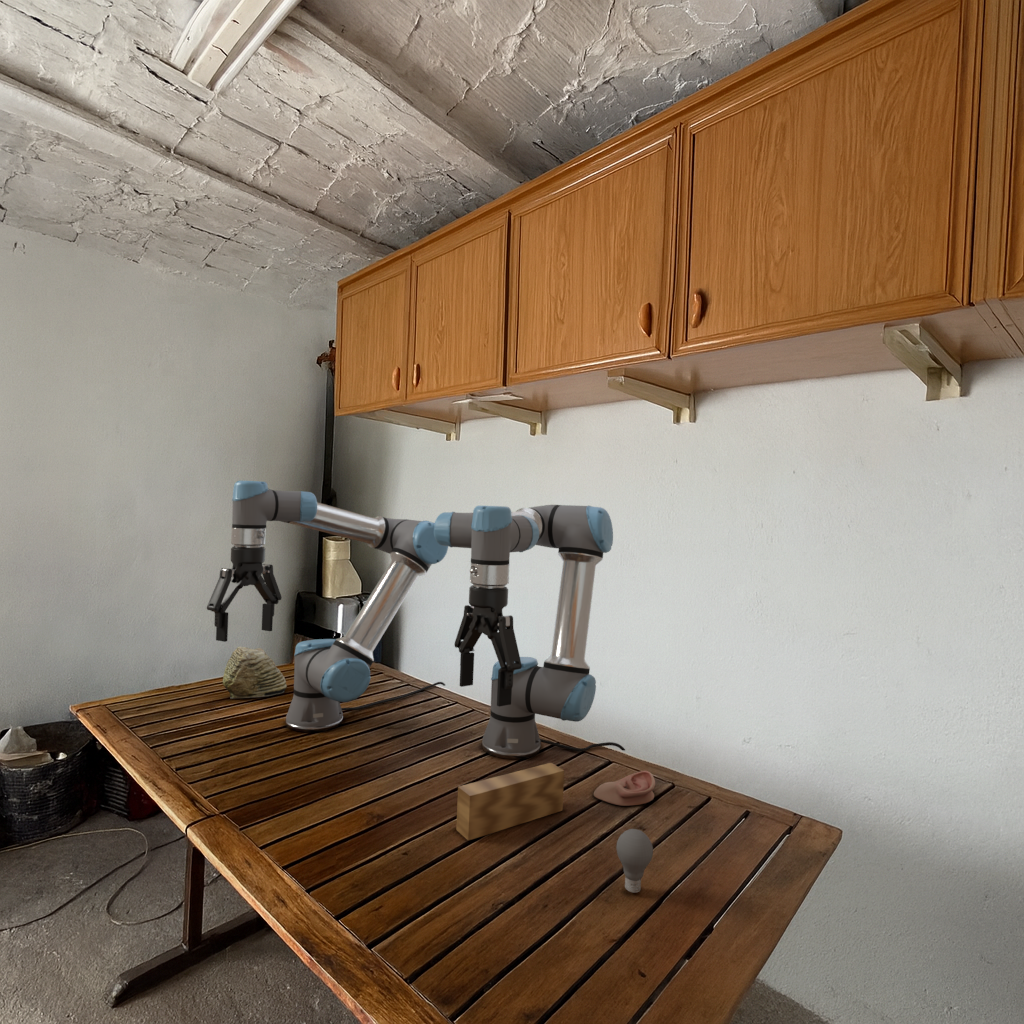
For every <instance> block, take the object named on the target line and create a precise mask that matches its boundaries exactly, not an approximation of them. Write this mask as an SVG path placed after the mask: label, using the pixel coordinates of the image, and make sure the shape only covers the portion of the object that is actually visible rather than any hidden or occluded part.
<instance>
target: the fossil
mask: <svg viewBox="0 0 1024 1024" xmlns="http://www.w3.org/2000/svg"><path fill="white" fill-rule="evenodd" d="M222 676H223V677H222V685H223V687H224V688H225V690H226V691H228V693H229V698H230V699H250V698H264V697H271V696H275V695H281V694H284V693H285V691H286V689H287V687H288V686H287V680H286V678H285V676H284V674H283V673H282V672H281V669H279V668H278V667H277V665H276V663H275V662H274V660H273V659H272V658H271V657H270V656H269V655H268V654H267V653H266V652H265V650H264V649H263V648H260V647H258V648H251V647H247V646H246V647H245V646H238V647H237V648H236V649H235V650H233V651H232V653H231V656H230V657H229V659H228V660H227V663H226V666H225V668H224V671H223V675H222Z"/></svg>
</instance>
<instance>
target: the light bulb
mask: <svg viewBox="0 0 1024 1024" xmlns="http://www.w3.org/2000/svg"><path fill="white" fill-rule="evenodd" d="M615 849H616V854H617V857H618V859H619V861H620V863H621V865H622V867H623V873H624V874H623V875H624V876H625V878H624V888H625V890H627V891H628V892H630V893H634V894H635V893H639V892H640V891H641V889H642V887H641V886H642V879H643V877H644V875H645V871H646V868H647V867H648V866H649V864H650V863H651V861H652V859H653V855H654V847H653V843H652V841H651V838H649V836H648V835H647V834H646V833H645V832H643V831H642V830H641V829H636V828H629V829H627V830H625V831H623V832H622V833H621V834H620V835H619V837H618V839H617V841H616V847H615Z"/></svg>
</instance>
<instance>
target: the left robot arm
mask: <svg viewBox="0 0 1024 1024" xmlns="http://www.w3.org/2000/svg"><path fill="white" fill-rule="evenodd" d="M268 485H269V484H268V483H267V482H266V481H260V480H259V481H258V480H237V481H235V482H234V485H233V489H232V490H233V492H232V499H231V502H232V509H231V510H232V512H231V513H232V515H231V537H230V538H231V539H230V544H231V545H233V546H232V547H231V548H230V562H231V563H232V567H231V568H226V567H221V568H220V569H219V576H218V577H219V578H218V580H217V582H216V584H215V586H214V589H213V591H212V594H211V596H210V598H209V601H208V603H207V606H206V610H207V611H210V612H213V613H214V623H213V624H214V627H215V641H218V642H225V643H226V642H228V635H229V634H228V631H229V612H227V610H228V608H229V607H230V605H231V603H232V602H233V600H234V599H235V598H236V596H237V594H238V592H239V591H240V590H241V589H243V587H248V586H254V587H255V589H256V591H257V592H258V594H259V595H260V596H261V598H262V599H263V601H264V602H265V603H262V605H261V607H262V608H261V609H262V611H261V631H266V632H273V623H274V622H273V620H274V619H273V618H274V616H275V608H276V607H275V606H276V605H278V604H279V602H280V601H282V594H281V592H280V588H279V585H278V582H277V580H276V577H275V574H274V566H273V564H269V563H264V562H266V548H265V547H264V546H265V544H266V541H267V539H266V536H267V535H266V534H267V522H281V523H286V524H290V525H294V526H298V527H302V528H306V529H311V530H314V531H318V532H322V533H325V534H330V535H334V536H338V537H341V538H346V539H350V540H353V541H357V542H362V543H365V544H366V545H367V547H369V548H371V549H375V550H379V551H382V552H384V553H386V554H389V555H390V559H391V560H390V563H389V565H388V566H387V568H386V569H385V571H384V572H383V574H382V576H381V577H380V579H379V580H378V582H377V583H376V585H375V587H374V589H373V590H372V591H371V593H370V594H369V597H368V598H367V599H366V601H365V603H364V604H363V606H362V607H361V610H360V611H359V613H358V614H357V616H356V617H355V619H354V620H353V622H352V623H351V625H350V626H349V629H348V630H347V632H346V633H345V635H344V636H341V637H338V638H323V639H322V638H319V639H308V640H303V641H299V642H297V644H296V645H295V650H294V655H293V656H294V672H293V695H292V696H293V697H292V699H291V702H290V704H289V708H288V711H287V713H286V715H285V726H286V728H287V729H289V730H291V731H294V732H295V731H296V732H301V733H316V732H325V731H329V730H332V729H335V728H337V727H339V726H340V725H342V723H343V722H344V714H343V711H344V712H345V711H357V710H362V709H368V708H370V707H374V706H377V705H380V704H385V703H389V702H393V701H397V700H400V699H403V698H407V697H410V696H413V695H414V694H418V693H420V692H423V691H425V690H427V689H431V688H433V687H436V686H438V685H441V686H445V687H446V683H445V682H443V681H437V682H434V683H432V684H429V685H426V686H423V687H421V688H418V689H416V690H414V691H411V692H408V693H406V694H403V695H398V696H395V697H391V698H387V699H383V700H378V701H374V702H372V703H368V704H365V705H360V706H355V707H354V706H353V707H351V706H350V707H342V706H341V703H350V702H353V701H354V700H357V699H359V698H360V697H361V696H362V695H363V694H364V693H365V692H366V690H367V689H368V687H369V686H370V682H371V677H372V676H371V670H370V668H371V667H372V665H373V663H374V661H375V658H374V650H375V649H376V648H377V646H378V644H379V642H380V641H381V639H382V637H383V635H385V632H386V631H387V629H388V628H389V626H390V624H391V623H392V621H393V619H394V617H395V616H396V615H397V612H398V611H399V609H400V607H401V606H402V604H403V602H404V601H405V599H406V598H407V596H408V594H409V592H410V591H411V589H412V587H413V586H414V584H415V582H416V581H417V579H418V578H419V577H422V576H425V575H426V574H427V573H428V571H429V570H430V568H431V566H432V565H436V564H437V563H440V562H441V561H443V560H444V559H445V557H446V555H447V554H448V549H449V546H442V545H440V544H439V543H438V542H437V541H436V539H435V536H434V524H435V522H433V521H429V520H418V519H417V520H415V519H407V518H390V517H389V518H388V517H386V516H385V517H384V516H380V515H377V516H375V517H371V516H368V515H364V514H361V513H357V512H354V511H350V510H347V509H343V508H339V507H336V506H332V505H328V504H326V503H321V502H318V499H317V497H316V495H315V494H314V493H313V492H311V491H304V490H275V489H269V486H268Z"/></svg>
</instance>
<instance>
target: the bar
mask: <svg viewBox="0 0 1024 1024" xmlns="http://www.w3.org/2000/svg"><path fill="white" fill-rule="evenodd" d="M564 786H565V770H564V769H563V768H561V767H559V766H557V765H556V764H554V763H553V762H547V763H544V764H540V765H536V766H533V767H528V768H523V769H521V770H517V771H513V772H510V773H504V774H502V775H498V776H493V777H490V778H486V779H482V780H478V781H475V782H470V783H467V784H463V785H458V786H457V802H456V803H457V804H456V805H457V806H456V827H455V829H456V830H455V831H457V832H458V833H459V834H460V835H461V836H462V837H463V838H465V839H466V841H473V840H475V839H478V838H481V837H485V836H488V835H490V834H494V833H496V832H500V831H503V830H506V829H509V828H512V827H516V826H519V825H522V824H526V823H528V822H532V821H535V820H537V819H541V818H544V817H547V816H550V815H553V814H557V813H559V812H563V809H564V805H563V804H564V788H565V787H564Z"/></svg>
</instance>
